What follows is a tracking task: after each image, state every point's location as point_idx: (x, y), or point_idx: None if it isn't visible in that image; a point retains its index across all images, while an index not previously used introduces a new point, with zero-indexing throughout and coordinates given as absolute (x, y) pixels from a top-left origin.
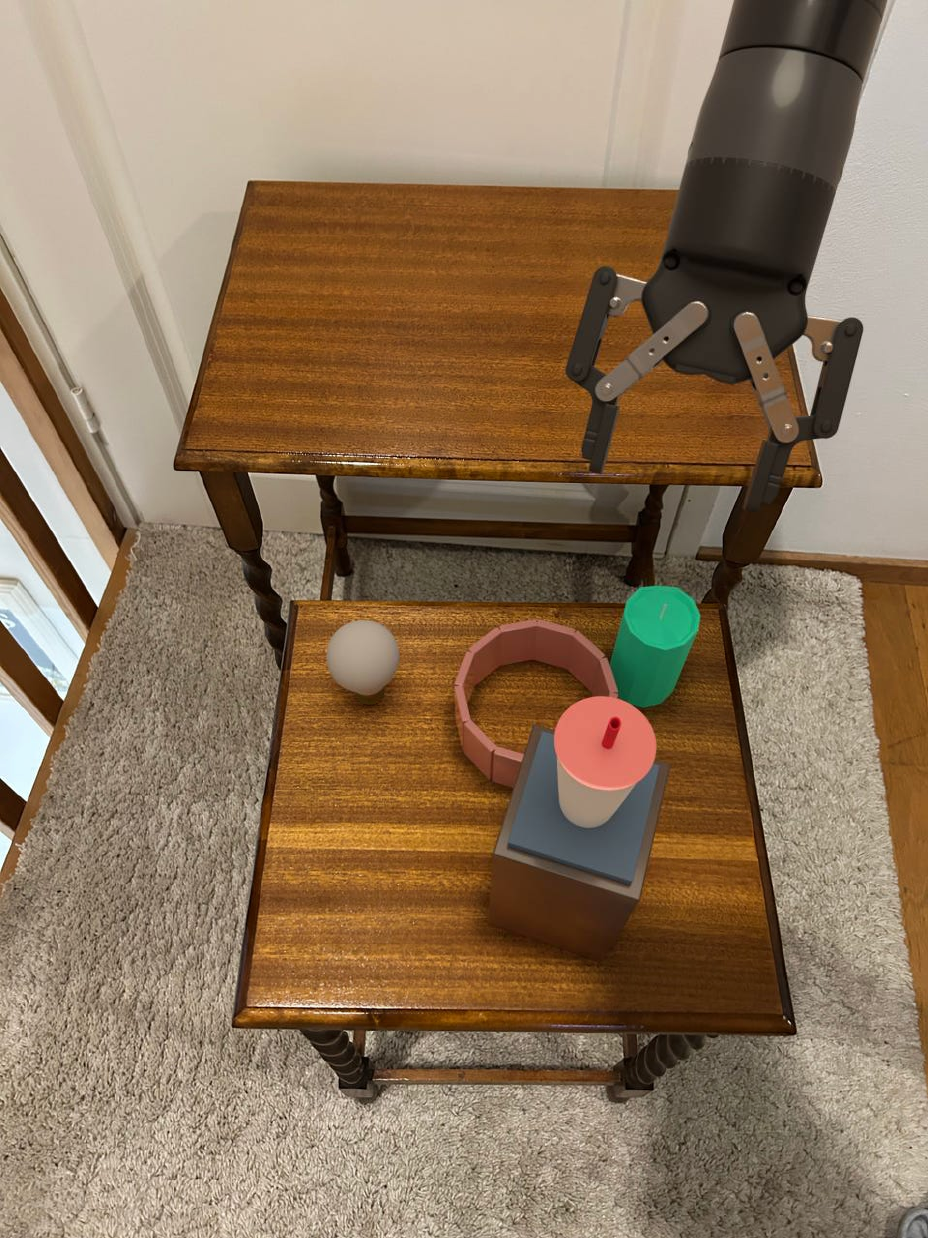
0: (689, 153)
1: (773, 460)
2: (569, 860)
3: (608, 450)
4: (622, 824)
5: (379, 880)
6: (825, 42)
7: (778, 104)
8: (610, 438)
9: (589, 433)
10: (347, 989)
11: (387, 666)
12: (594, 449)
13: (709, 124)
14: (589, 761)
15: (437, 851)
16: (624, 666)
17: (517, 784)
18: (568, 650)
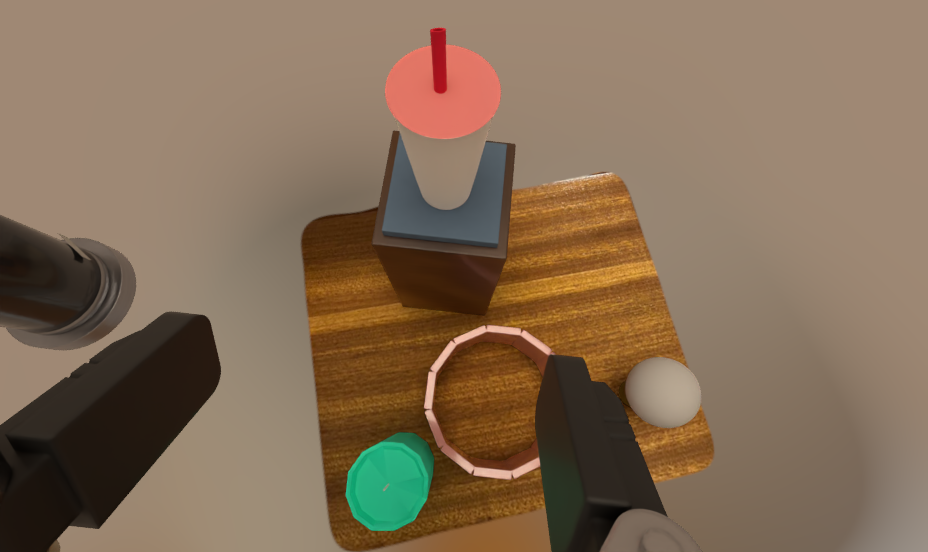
0: None
1: (62, 392)
2: None
3: (542, 445)
4: (412, 174)
5: (570, 253)
6: None
7: None
8: (556, 441)
9: (621, 433)
10: (567, 188)
11: (639, 377)
12: (590, 385)
13: None
14: (457, 67)
15: (537, 279)
16: (420, 445)
17: (508, 200)
18: (474, 462)
